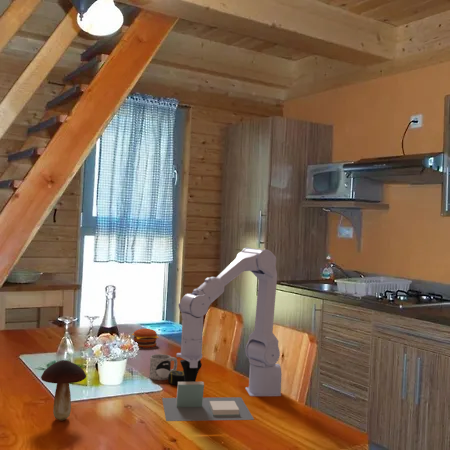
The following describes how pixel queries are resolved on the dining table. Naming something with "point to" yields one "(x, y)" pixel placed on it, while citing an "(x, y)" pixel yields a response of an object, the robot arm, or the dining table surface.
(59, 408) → the decorative mushroom
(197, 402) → the tile
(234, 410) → the tile
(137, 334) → the hamburger
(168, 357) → the mug
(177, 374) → the tape measure
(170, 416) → the mat
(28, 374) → the dining table surface
